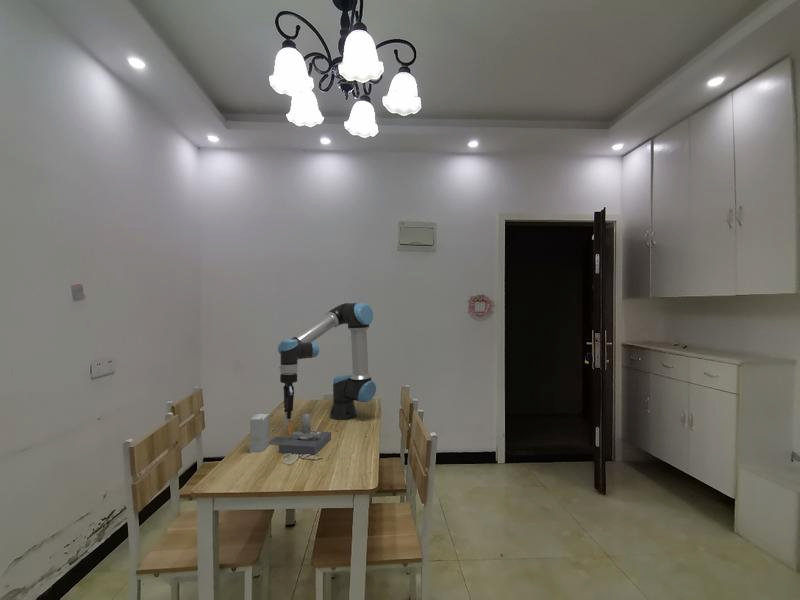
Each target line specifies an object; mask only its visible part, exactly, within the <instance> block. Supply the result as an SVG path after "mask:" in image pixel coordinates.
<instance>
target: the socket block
mask: <svg viewBox="0 0 800 600" xmlns="http://www.w3.org/2000/svg"><path fill="white" fill-rule="evenodd" d="M315 431H316V430H310V432H312V433H315ZM320 431H321V435H318V436H314V437H313V438H312V439H311V440H310V441H309V440H301V439H299V438H298V435H289V437H287V439H286V440H285V441H283V442H282V443H281V444H279V445H278V453H279V454H287V453H291V454H290V455H302V454H312V455H311V456H316V455H317V454H318V453H319V452H320V451H321V450H322V449H323V448H324V447H325V446H326V445H328V444H329V442H331V440H332V432H331V431H322V430H320ZM296 432H301V433H302V429H300V430H299V429H298V430H297V431H296Z"/></svg>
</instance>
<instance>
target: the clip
mask: <svg viewBox="0 0 800 600" xmlns="http://www.w3.org/2000/svg"><path fill="white" fill-rule="evenodd" d="M294 427H295V426H294V420H293V419H292V420H290V421H289V426H288V436H291V435H298V436H318V435H321V431H322V430H314V431H315V433H301V432H297V431H294Z"/></svg>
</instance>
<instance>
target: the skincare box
mask: <svg viewBox="0 0 800 600" xmlns="http://www.w3.org/2000/svg"><path fill="white" fill-rule="evenodd" d="M249 423H250V424H249V425H250V428H249V453H250V454H251V453H264V451H265V452H266V450H267V449H268V447H270V445H269V441H270V413H256V414H255V415H254V416H253V417H252V418H250V422H249Z"/></svg>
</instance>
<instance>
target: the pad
mask: <svg viewBox="0 0 800 600" xmlns="http://www.w3.org/2000/svg"><path fill="white" fill-rule="evenodd" d="M287 438H288V437H284V436H283V437H282V436H275V437H273V438H272V439H271V440H269V446H270V445H272V446H279V444H281V443H282V442H283V441H285V440H286V439H287Z"/></svg>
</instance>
